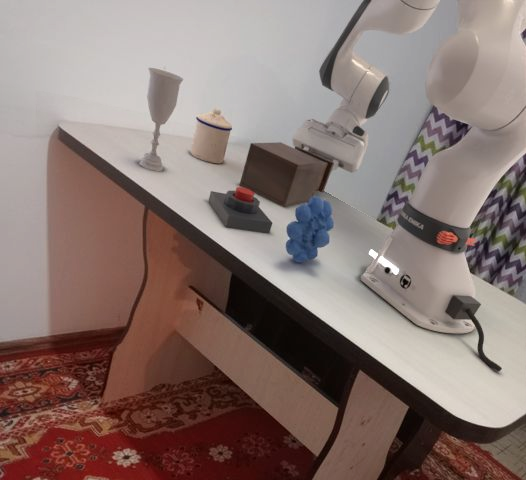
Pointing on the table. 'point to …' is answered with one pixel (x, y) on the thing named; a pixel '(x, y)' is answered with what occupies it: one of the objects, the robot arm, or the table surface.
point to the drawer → (324, 171)
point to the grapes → (309, 229)
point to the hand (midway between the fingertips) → (312, 168)
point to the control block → (239, 212)
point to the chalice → (160, 109)
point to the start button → (244, 194)
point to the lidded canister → (211, 137)
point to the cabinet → (280, 173)
